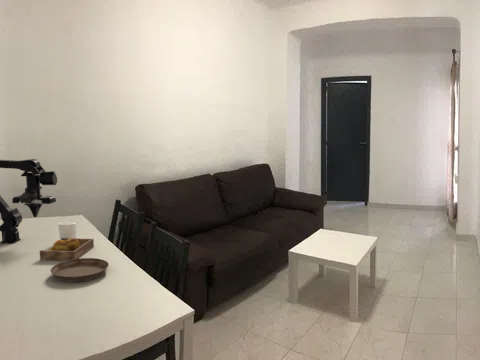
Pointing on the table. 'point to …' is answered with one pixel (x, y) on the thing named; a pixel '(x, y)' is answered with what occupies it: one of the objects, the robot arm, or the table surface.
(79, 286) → the table surface
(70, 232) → the white cup
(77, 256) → the box
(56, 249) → the bread roll
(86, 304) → the table surface
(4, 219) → the robot arm
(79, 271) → the plant saucer
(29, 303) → the table surface
